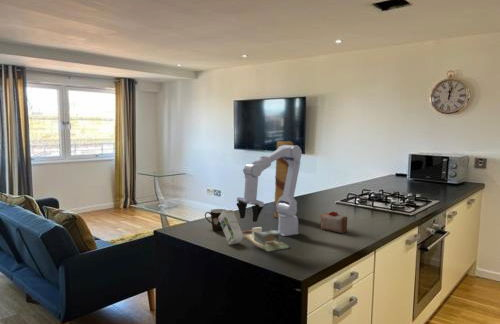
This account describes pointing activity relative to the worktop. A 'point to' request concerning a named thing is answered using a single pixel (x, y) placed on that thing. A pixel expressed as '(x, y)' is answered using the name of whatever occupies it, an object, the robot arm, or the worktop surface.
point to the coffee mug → (215, 219)
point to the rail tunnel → (260, 240)
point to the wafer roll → (280, 175)
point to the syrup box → (230, 227)
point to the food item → (334, 222)
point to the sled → (267, 239)
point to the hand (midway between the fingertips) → (248, 219)
